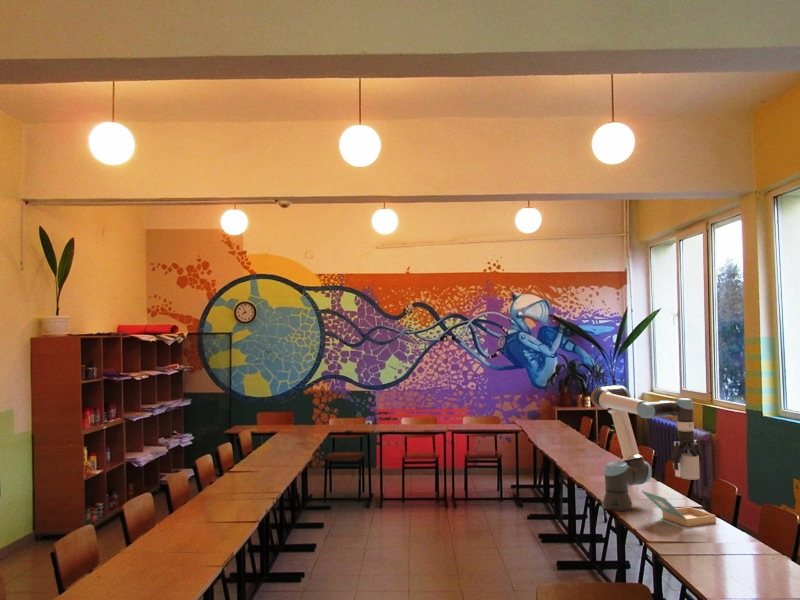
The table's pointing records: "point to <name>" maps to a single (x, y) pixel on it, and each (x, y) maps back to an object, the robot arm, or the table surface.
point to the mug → (689, 466)
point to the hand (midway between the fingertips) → (687, 475)
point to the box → (691, 517)
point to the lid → (663, 504)
